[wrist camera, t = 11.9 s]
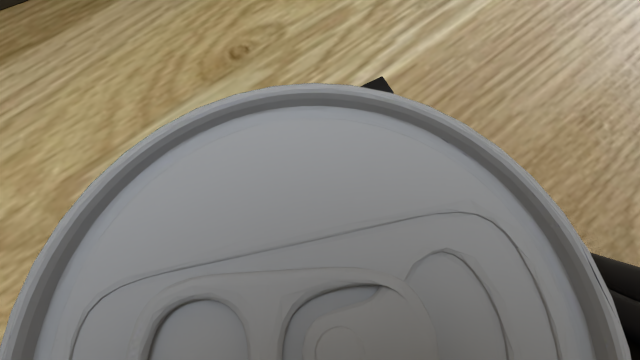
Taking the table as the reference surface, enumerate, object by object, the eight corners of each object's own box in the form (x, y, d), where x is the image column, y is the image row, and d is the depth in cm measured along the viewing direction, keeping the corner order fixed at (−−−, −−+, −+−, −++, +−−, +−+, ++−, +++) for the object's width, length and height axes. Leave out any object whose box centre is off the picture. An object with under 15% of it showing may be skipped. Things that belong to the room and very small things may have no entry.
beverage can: (397, 391, 13) (877, 901, 2) (241, 402, 13) (-228, 1035, 2) (380, 236, 15) (576, 34, 4) (242, 244, 15) (10, 59, 4)
